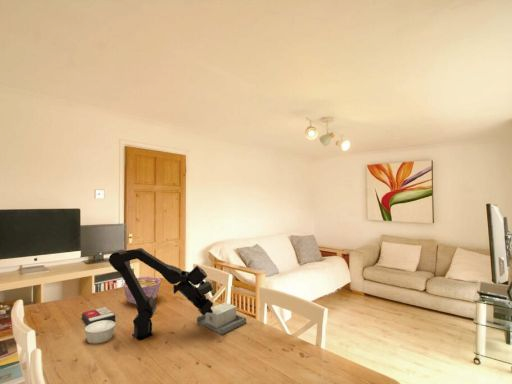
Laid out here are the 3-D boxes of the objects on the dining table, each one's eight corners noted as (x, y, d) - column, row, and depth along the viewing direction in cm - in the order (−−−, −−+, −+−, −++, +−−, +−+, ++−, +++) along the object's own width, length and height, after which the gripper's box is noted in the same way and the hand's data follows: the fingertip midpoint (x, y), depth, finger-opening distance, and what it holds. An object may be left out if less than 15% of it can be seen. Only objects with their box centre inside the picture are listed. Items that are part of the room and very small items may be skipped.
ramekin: (120, 336, 119) (120, 324, 119) (92, 348, 110) (93, 335, 110) (106, 329, 125) (106, 317, 126) (79, 339, 116) (80, 327, 116)
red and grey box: (106, 306, 143) (115, 313, 133) (106, 314, 143) (115, 322, 132) (81, 311, 136) (89, 320, 125) (81, 320, 136) (89, 330, 125)
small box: (216, 328, 127) (236, 319, 136) (216, 314, 127) (236, 306, 137) (205, 323, 132) (225, 314, 142) (205, 309, 132) (225, 301, 142)
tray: (222, 335, 122) (222, 329, 122) (196, 322, 134) (196, 317, 134) (245, 323, 133) (246, 318, 133) (220, 312, 145) (220, 307, 145)
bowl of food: (114, 305, 152) (114, 284, 152) (141, 294, 171) (142, 275, 171) (141, 312, 144) (142, 289, 145) (168, 299, 163) (168, 279, 163)
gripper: (209, 282, 119) (232, 304, 124) (195, 272, 135) (216, 291, 140) (190, 304, 115) (214, 326, 120) (178, 290, 131) (200, 310, 136)
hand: (211, 312), depth 129 cm, fingers closed, pressing on small box
